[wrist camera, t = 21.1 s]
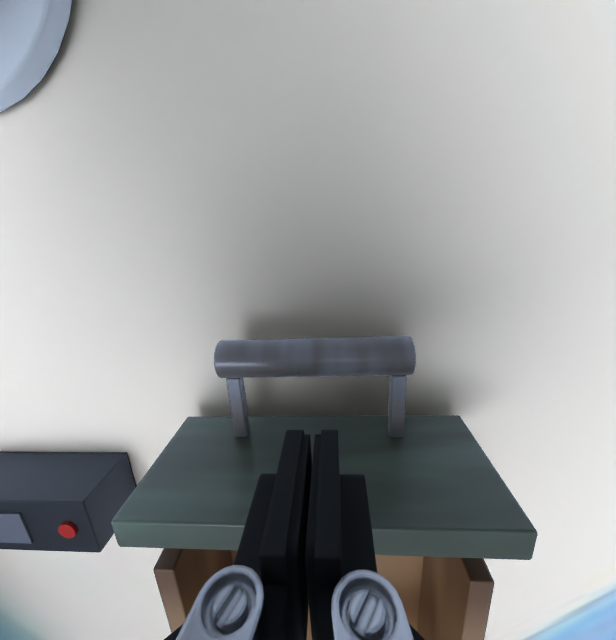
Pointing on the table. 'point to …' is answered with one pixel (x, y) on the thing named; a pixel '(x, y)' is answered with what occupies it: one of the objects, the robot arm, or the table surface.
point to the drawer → (354, 458)
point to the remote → (61, 499)
